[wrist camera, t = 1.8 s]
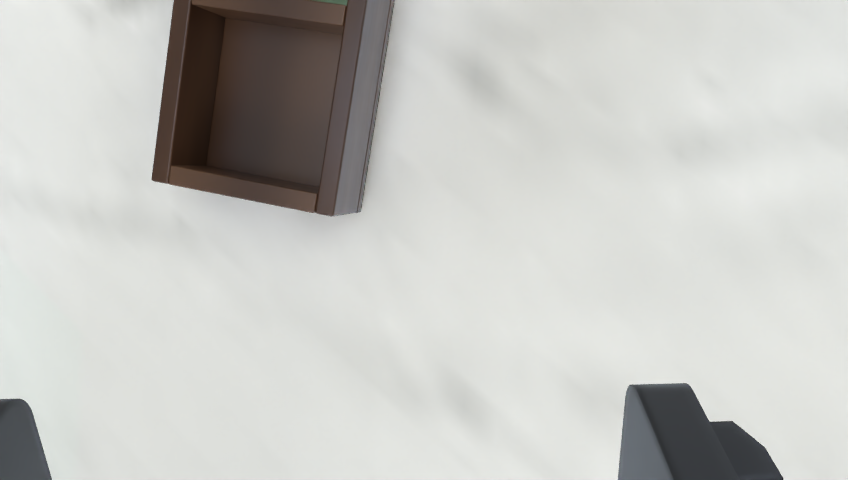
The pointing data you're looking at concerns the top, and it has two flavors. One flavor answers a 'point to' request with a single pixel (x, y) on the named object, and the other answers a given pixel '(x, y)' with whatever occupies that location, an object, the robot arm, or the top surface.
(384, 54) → the tray
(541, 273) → the top surface
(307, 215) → the top surface
